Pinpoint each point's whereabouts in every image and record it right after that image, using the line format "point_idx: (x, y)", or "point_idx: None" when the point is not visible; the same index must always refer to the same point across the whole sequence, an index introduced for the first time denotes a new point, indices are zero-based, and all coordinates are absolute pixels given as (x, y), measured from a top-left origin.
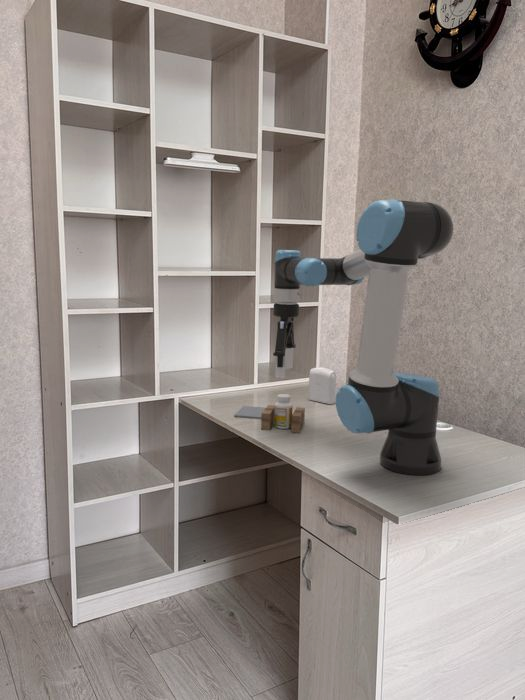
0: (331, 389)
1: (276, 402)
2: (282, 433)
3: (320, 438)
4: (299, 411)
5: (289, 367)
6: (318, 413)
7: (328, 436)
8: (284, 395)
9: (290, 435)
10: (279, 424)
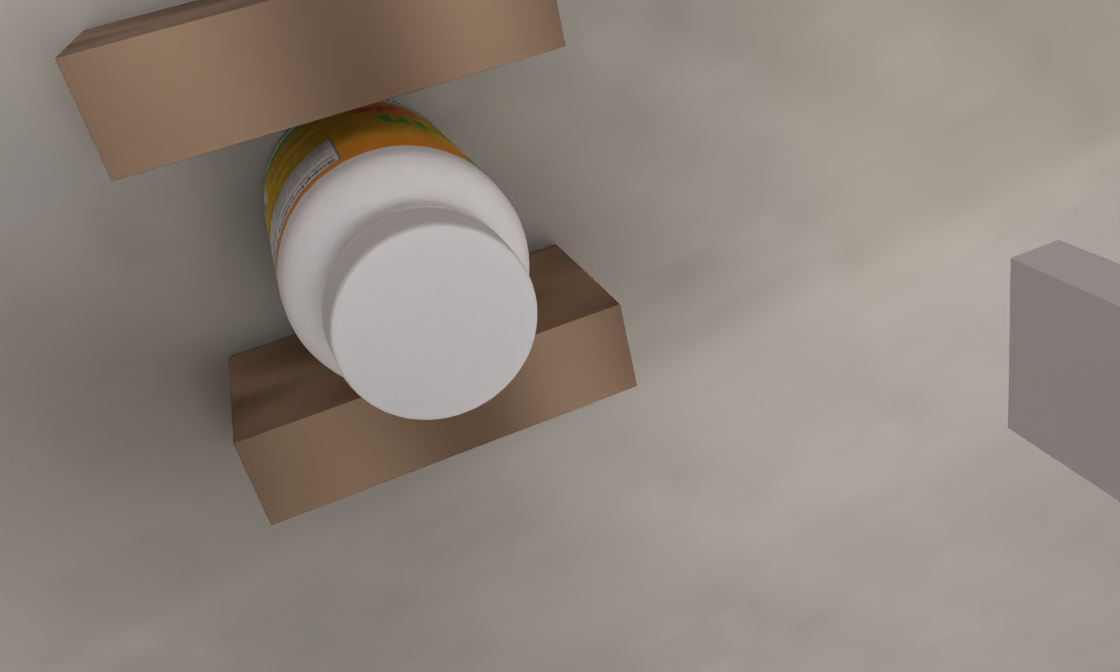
0: None
1: (364, 194)
2: (124, 308)
3: (223, 638)
4: (463, 417)
5: (1035, 395)
6: (923, 268)
7: (321, 652)
8: (452, 327)
9: (118, 405)
10: (264, 212)
